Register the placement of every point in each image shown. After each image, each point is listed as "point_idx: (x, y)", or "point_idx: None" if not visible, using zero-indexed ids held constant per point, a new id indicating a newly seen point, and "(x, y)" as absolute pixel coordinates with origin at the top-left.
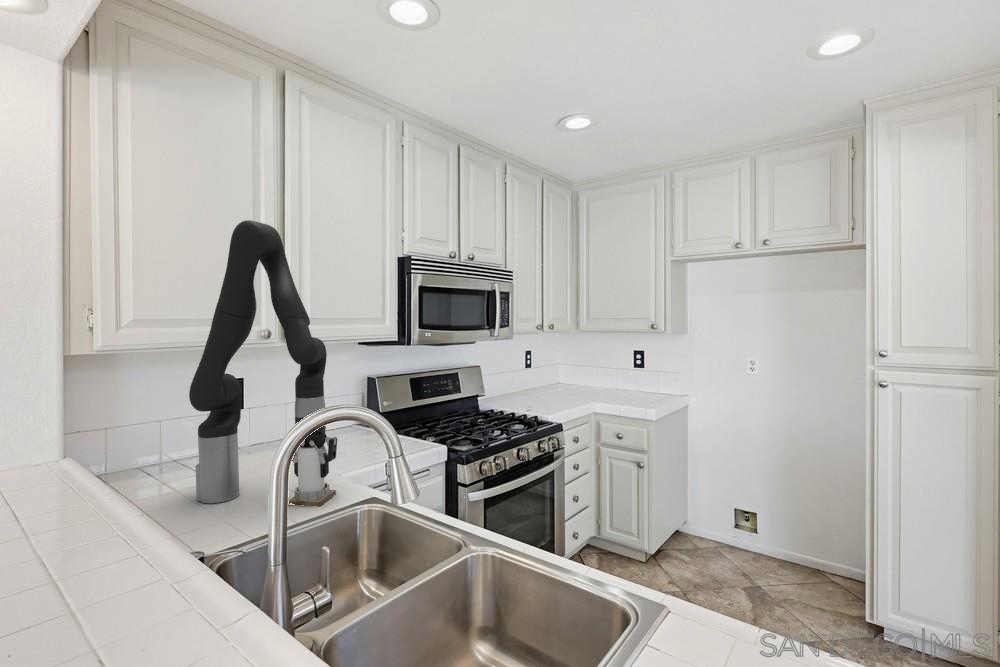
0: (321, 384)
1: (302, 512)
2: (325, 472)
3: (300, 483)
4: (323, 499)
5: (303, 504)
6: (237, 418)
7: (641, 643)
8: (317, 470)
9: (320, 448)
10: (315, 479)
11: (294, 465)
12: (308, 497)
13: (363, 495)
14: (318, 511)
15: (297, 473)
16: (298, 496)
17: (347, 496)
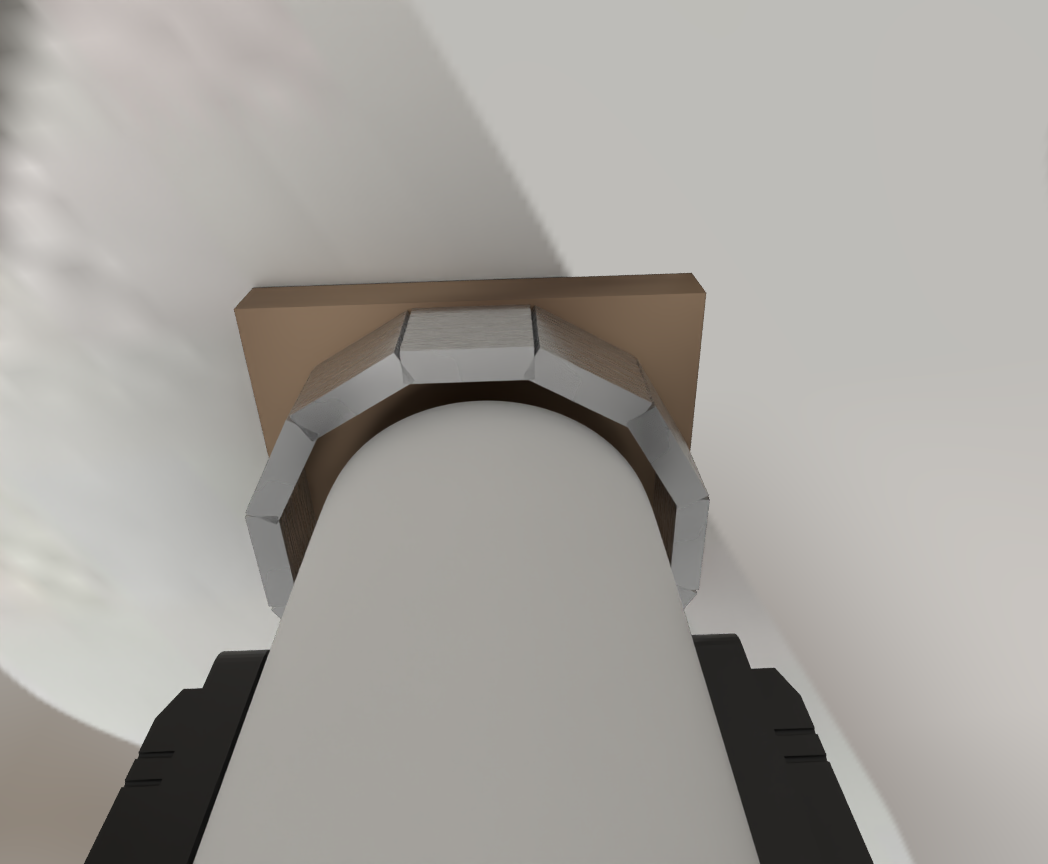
0: None
1: (355, 71)
2: (161, 737)
3: (573, 485)
4: (256, 399)
5: (475, 286)
6: None
7: None
8: (245, 730)
9: None
10: (313, 574)
11: (847, 825)
12: (395, 330)
13: (22, 625)
14: (160, 139)
15: (719, 672)
16: (559, 337)
17: (167, 586)
